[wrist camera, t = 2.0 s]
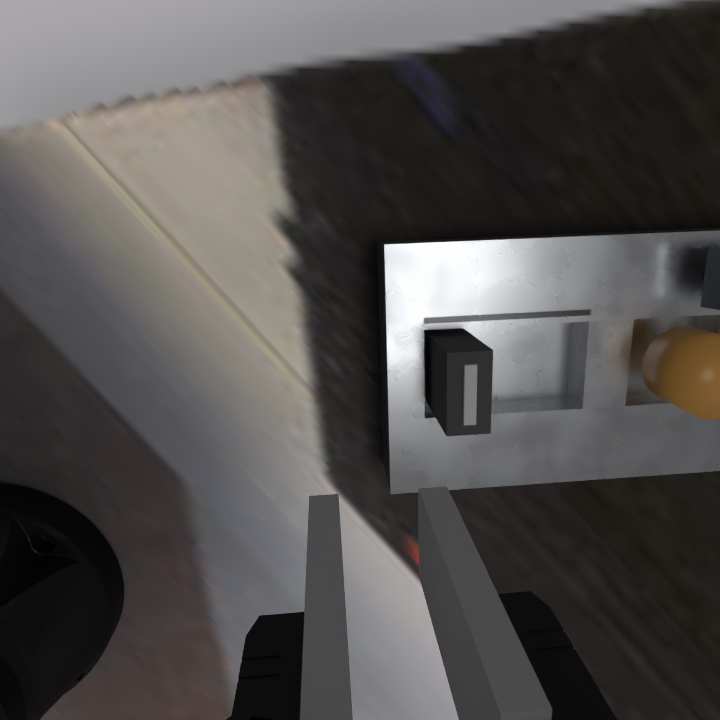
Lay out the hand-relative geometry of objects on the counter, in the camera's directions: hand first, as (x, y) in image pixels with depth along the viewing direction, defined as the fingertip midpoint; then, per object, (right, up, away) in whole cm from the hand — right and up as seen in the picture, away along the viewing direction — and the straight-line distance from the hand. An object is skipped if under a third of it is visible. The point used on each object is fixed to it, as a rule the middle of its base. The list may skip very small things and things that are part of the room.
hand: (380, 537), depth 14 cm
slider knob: (+4, +4, +16) cm, 17 cm away
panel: (+15, +6, +19) cm, 24 cm away
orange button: (+17, +5, +15) cm, 23 cm away
